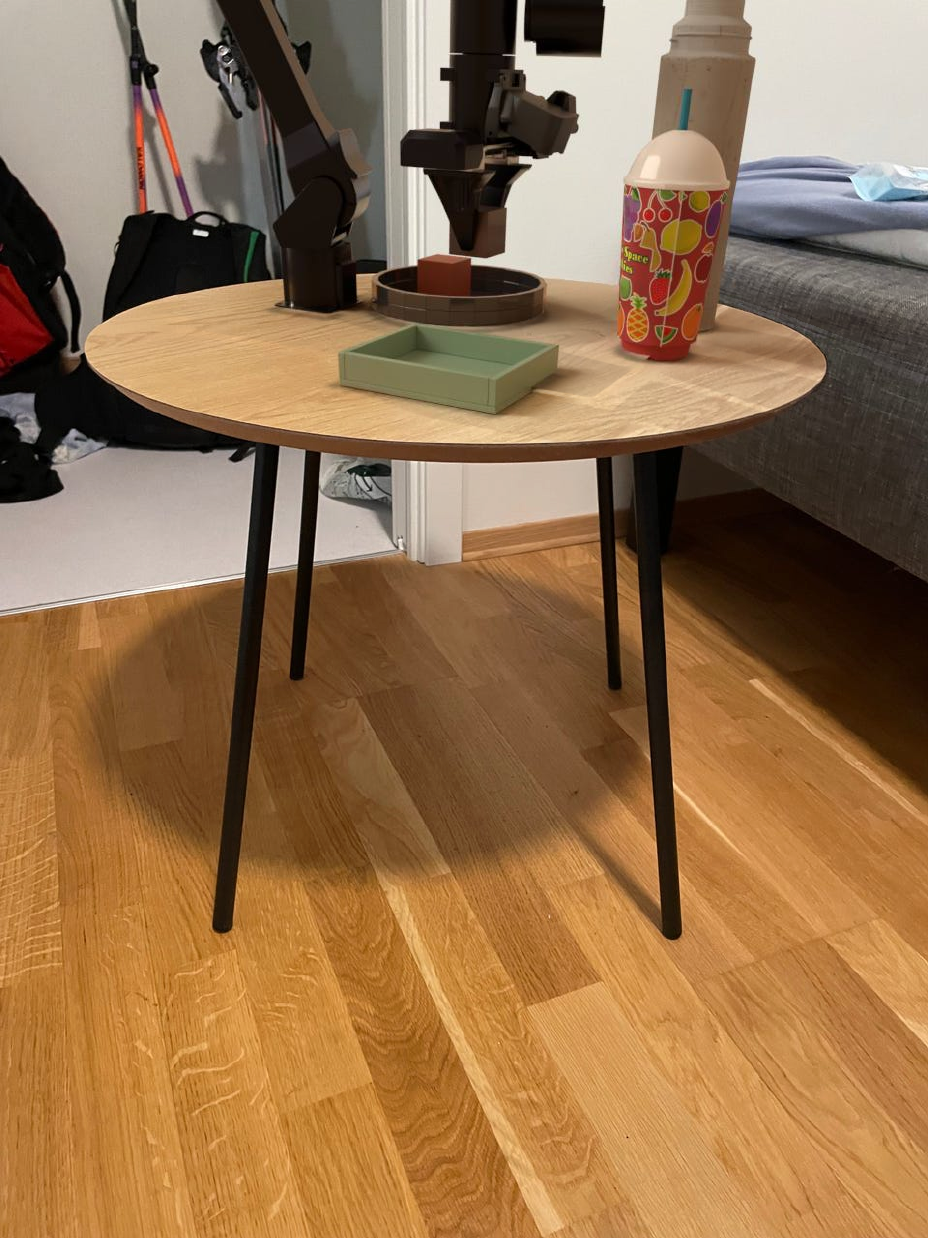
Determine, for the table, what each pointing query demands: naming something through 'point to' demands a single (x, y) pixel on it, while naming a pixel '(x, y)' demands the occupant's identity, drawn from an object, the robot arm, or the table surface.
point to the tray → (448, 366)
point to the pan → (461, 298)
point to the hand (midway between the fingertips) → (477, 247)
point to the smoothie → (669, 240)
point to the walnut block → (484, 234)
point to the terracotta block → (444, 275)
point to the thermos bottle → (710, 99)
